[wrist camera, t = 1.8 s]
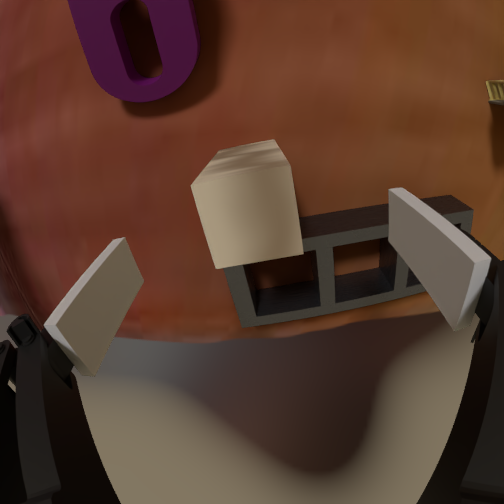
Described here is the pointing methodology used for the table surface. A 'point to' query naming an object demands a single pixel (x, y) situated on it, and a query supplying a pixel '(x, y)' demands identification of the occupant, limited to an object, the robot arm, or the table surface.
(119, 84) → the mounting bracket
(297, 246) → the peg
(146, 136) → the table surface
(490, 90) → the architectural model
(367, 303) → the dark grey long frame
